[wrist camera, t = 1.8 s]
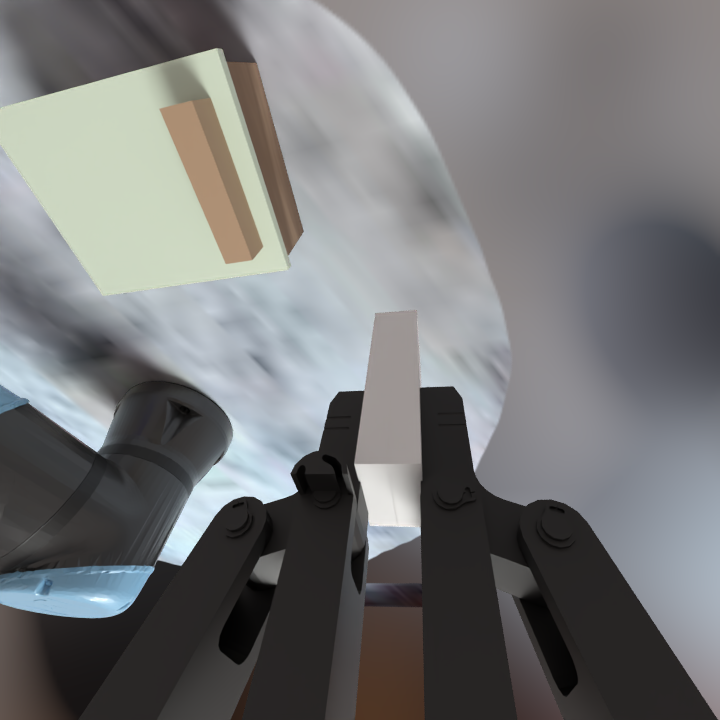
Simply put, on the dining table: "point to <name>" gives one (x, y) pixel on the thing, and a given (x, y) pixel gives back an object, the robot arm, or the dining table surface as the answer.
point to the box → (267, 149)
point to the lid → (150, 176)
